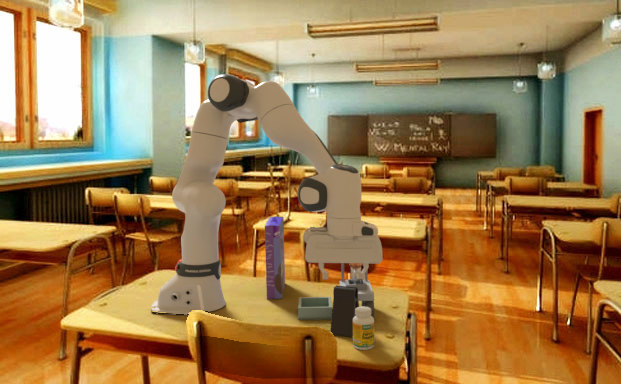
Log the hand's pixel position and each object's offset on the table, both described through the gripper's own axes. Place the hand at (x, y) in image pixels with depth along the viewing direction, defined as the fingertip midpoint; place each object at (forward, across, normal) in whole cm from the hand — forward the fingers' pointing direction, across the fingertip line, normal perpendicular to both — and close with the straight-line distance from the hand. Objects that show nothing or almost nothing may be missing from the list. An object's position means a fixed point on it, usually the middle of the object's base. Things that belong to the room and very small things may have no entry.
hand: (343, 279), depth 142 cm
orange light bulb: (+6, +4, +14) cm, 16 cm away
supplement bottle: (+15, +5, -9) cm, 18 cm away
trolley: (+14, +4, +14) cm, 21 cm away
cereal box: (+15, -21, +37) cm, 45 cm away
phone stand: (+15, +1, +2) cm, 15 cm away
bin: (+14, -8, +15) cm, 22 cm away
